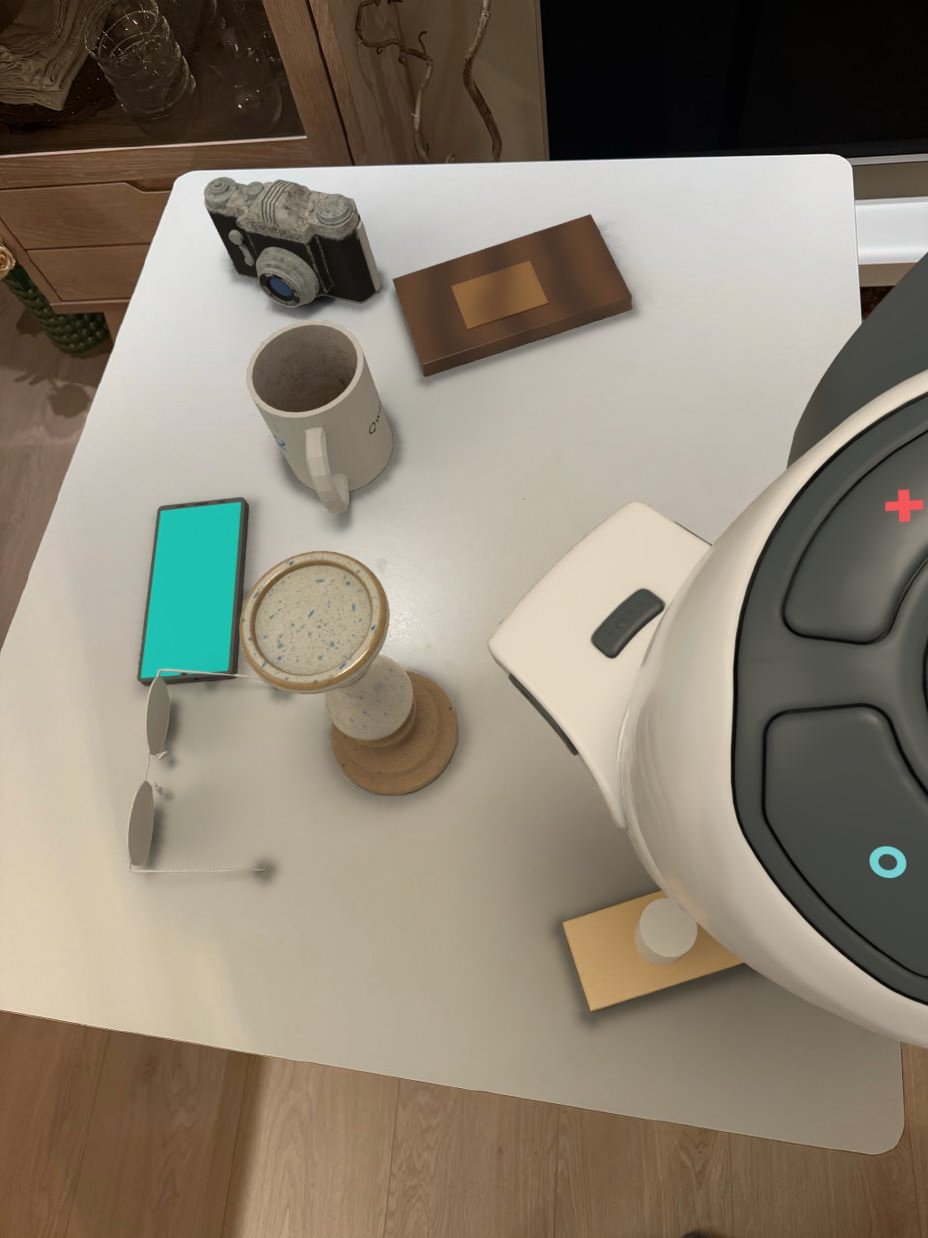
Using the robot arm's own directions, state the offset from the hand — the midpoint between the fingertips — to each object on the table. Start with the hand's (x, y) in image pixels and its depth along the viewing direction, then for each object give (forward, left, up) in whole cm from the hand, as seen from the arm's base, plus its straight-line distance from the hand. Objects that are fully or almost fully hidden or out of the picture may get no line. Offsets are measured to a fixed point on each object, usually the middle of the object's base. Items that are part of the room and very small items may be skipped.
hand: (720, 801), depth 37 cm
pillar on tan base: (+3, +3, -21) cm, 21 cm away
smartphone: (+27, -31, -21) cm, 46 cm away
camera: (+13, -58, -21) cm, 63 cm away
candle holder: (+15, -15, -21) cm, 30 cm away
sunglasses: (+28, -16, -21) cm, 38 cm away
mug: (+14, -38, -21) cm, 45 cm away
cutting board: (-4, -49, -21) cm, 53 cm away
